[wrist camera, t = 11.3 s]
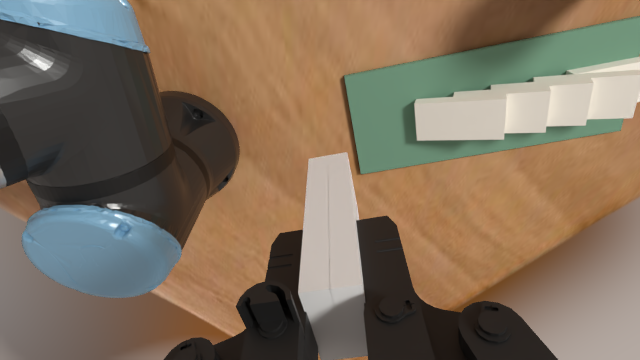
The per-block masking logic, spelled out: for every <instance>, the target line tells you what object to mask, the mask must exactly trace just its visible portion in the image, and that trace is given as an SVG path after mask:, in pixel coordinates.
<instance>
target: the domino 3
mask: <svg viewBox="0 0 640 360" xmlns="http://www.w3.org/2000/svg"><path fill="white" fill-rule="evenodd" d="M593 84H594V83H593V81H592V79H591V78H583V79H568V80H554V81H539V82H525V83H510V84H495V85H491V90H492V89H508V88H523V87H539V86H549V87H550V90H551V95H550V102H549V110H548V118H547V126H586V121H587V116H588V111H589V105H590V100H591V95H592V90H593Z"/></svg>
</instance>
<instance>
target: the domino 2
mask: <svg viewBox="0 0 640 360" xmlns="http://www.w3.org/2000/svg"><path fill="white" fill-rule="evenodd" d="M492 94H506V96H507V102H506V117H505V133H546V126H547V118H548V110H549V102H550V95H551V90H550V87H549V86H539V87H523V88H508V89H492V90H476V91H460V92H454V95H453V97H458V96H475V95H492Z"/></svg>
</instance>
